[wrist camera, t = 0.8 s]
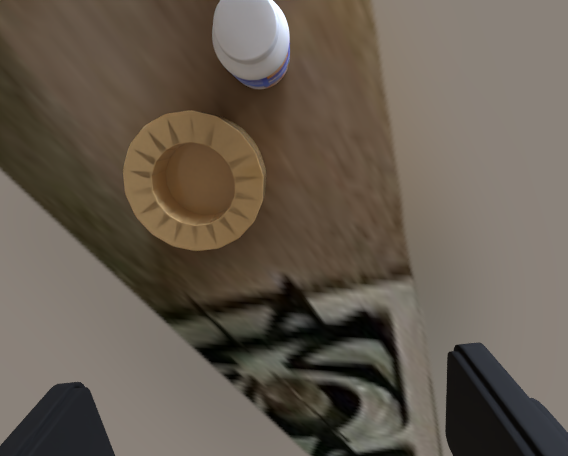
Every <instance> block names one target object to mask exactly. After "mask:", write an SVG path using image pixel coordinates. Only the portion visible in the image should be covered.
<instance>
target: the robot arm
mask: <svg viewBox="0 0 568 456" xmlns="http://www.w3.org/2000/svg"><path fill="white" fill-rule="evenodd" d="M447 359H448V360H447V395H446V438H447V442H448V445H449V448H450V450H451V452H452V454H453V456H568V432H566V430H565V429H564V428H563V427H562V426H561V425H560V423H559V422H558V421H557V420H556V419H555V418H554V417H553V415H552V414H551V413H550V412H549V411H548V410H547V409H546V408H545V407H544V406H543V405H542V404H541V403H540V402H539V401H537V400H535V399H534V398H529V397H528V396H527V394H526V393H525V392H524V391H523V390H522V389H521V387H520V386H519V385H518V384H517V383H516V382H515V381H514V379H513V378H512V377H511V376H510V375H509V374H508V372H507V371H506V370H505V369H504V368H503V367H502V366H501V364H500V363H499V362H498V361H497V360H496V359H495V357H494V356H493V355H492V354H491V353H490V352H489V351H488V349H487V348H486V347H485V346H484V345H483V344H482V343H469V344H460V345H455V347H454V351H452V352H449V353H448V358H447ZM0 456H115V454H114V451H113V449H112V446H111V444H110V441H109V439H108V436H107V434H106V431H105V428H104V426H103V423H102V421H101V418H100V415H99V413H98V410H97V408H96V405H95V402H94V400H93V397H92V395H91V392H90V390H89V389H88V388H87V387H85V386H84V385H83V384H82V383H81V382H74V383H64V384H57V385H55V386H53V387H52V388H51V389H50V390H49V391H48V392H47V393H46V395H45V396H44V397H43V398H42V399H41V400H40V401H39V402H38V404H37V405H36V406H35V407H34V408H33V409H32V410H31V412H30V413H29V414H28V415H27V416H26V417H25V418H24V419H23V421H22V422H21V423H20V424H19V425H18V426H17V427H16V429H15V430H14V431H13V432H12V433H11V434H10V435H9V437H8V438H7V439H6V440H5V441H4V442H3V443H2V444H1V446H0Z"/></svg>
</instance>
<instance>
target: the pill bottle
mask: <svg viewBox="0 0 568 456" xmlns="http://www.w3.org/2000/svg"><path fill="white" fill-rule="evenodd" d="M212 41H213V46H214V50H215V52H216V55H217V57H218V59H219V60H220V62H221V63H222V65H223V66H224V67H225V68H226V69H227V70H228V71H229V72H230V73H231V74H232V75H233V76H234V77H235V78H237V79H238V80H239V81H240V82H241V83H243V84H244V85H246V86H248V87H250V88H254V89H266V88H269V87H272V86H273V85H275V84H277V83H278V82H279V81H280V80H281V79H282V77H283V76H284V75H285V73H286V71H287V68H288V65H289V60H290V37H289V28H288V24H287V21H286V18H285V16H284V14H283V12H282V11H281V9H280V8H279V7H278V5H277V4H276V3H274V2H273V1H272V0H220V2H219V3H218V5H217V7H216V10H215V13H214V18H213V28H212Z"/></svg>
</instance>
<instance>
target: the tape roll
mask: <svg viewBox="0 0 568 456" xmlns="http://www.w3.org/2000/svg"><path fill="white" fill-rule="evenodd" d="M123 169H124V170H123V177H124V187H125V194H126V197H127V199H128V201H129V203H130V205H131V208H132V210H133V212H134V214H135V216H136V218H137V219H138V220H139V221H140V222H141V223H142V224H143V225H144V226H145V227H146V228H147V230H148V231H149V232H150V233H151V234H152V235H154V236H156V237H157V238H159V239H161V240H163V241H164V242H166V243H168V244H170V245H171V246H174V247H178V248H183V249H188V250H193V251H201V250H210V249H218V248H221V247H223V246H225V245H227V244H229V243H231V242H233V241H235V240H237V239H238V238H240V237H241V236H242V235H243V233H244V232H245V231H246V230H247V229H248V228H249V227H250V226H251V225H252V224H253V223H254V221H255V219H256V216H257V214H258V211H259V209H260V207H261V204H262V202H263V199H264V196H265V192H266V169H265V166H264V162H263V159H262V156H261V153H260V150H259V148H258V147H257V146H256V144H255V143H254V141H253V140H252V139H251V137H250V136H249V135H248V134H247V133H246V131H244V130H243V129H242V128H241V127H239V126H238V125H236V124H235V123H233V122H232V121H230V120H228V119H227V118H224V117H222V116H218V115H213V114H209V113H205V112H199V111H191V110H189V111H182V112H175V113H168V114H164V115H163V116H161V117H159V118H157V119H156V120H154V121H152V122H150V123H149V124H147V125H145V126H144V127H143V128H142V129H141V131H140V132H139V133H138V135H137V136H136V137H135V139H134V140H133V141H132V143H131V144H130V145H129V149H128V152H127V156H126V160H125V163H124V167H123Z"/></svg>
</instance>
